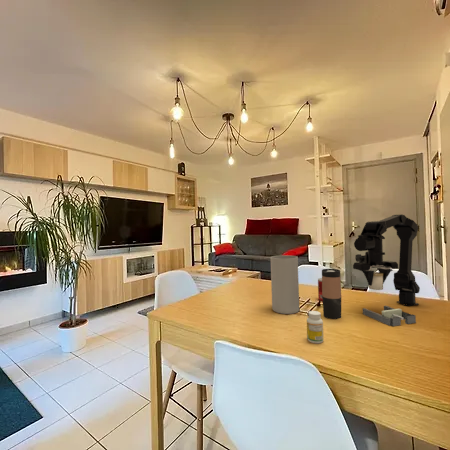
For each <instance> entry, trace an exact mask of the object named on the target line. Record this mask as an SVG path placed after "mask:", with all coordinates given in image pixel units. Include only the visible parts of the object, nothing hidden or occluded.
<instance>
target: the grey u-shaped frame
mask: <svg viewBox="0 0 450 450" xmlns="http://www.w3.org/2000/svg"><path fill="white" fill-rule="evenodd" d="M392 309H395V308H394V307H391V306H388V305H383V311H385V310H392ZM362 315H364V316H365V317H368V318H370V319H372V320H375V321H378V322H380V323H382V324H384V325H387V326H389V327H397V326H399V327H400V326H401V325H402V324H401V321H402V320H401V317H390V318H388V317H386V316H383V315H382V313H381V314H380V313H378V312H375V311H373V310H370V309H368V308H366V307H365V308H362ZM402 317H403V318H404V323H405V324H406V325H410V324H411V325H412V324H416V323H417V321H416V320H417V319H416V315H415V314H411V313H408V312H406V311H403V310H402Z"/></svg>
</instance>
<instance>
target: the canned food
mask: <svg viewBox="0 0 450 450" xmlns="http://www.w3.org/2000/svg"><path fill="white" fill-rule="evenodd" d="M317 290H318V292H317V293H318V300H319V301H320V302H322V303H323V299H322V277H319V278H317Z"/></svg>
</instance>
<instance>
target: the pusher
mask: <svg viewBox="0 0 450 450" xmlns="http://www.w3.org/2000/svg"><path fill="white" fill-rule="evenodd" d="M402 311H403V309H401V308H394V309H392V310H385V311H384V310H381V315H383V316H386V317H388V318H390V317H401V321H405V319H404V318H403V317H402Z"/></svg>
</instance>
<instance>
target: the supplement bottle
mask: <svg viewBox="0 0 450 450" xmlns="http://www.w3.org/2000/svg"><path fill="white" fill-rule="evenodd" d="M321 315H322V314H321V312H320V311H318V310H309V311H308V317H307V318H306V337H307V341H308V342H310V343H312V344H322V343H323V342H324V322H323V319H322V317H321Z"/></svg>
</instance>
